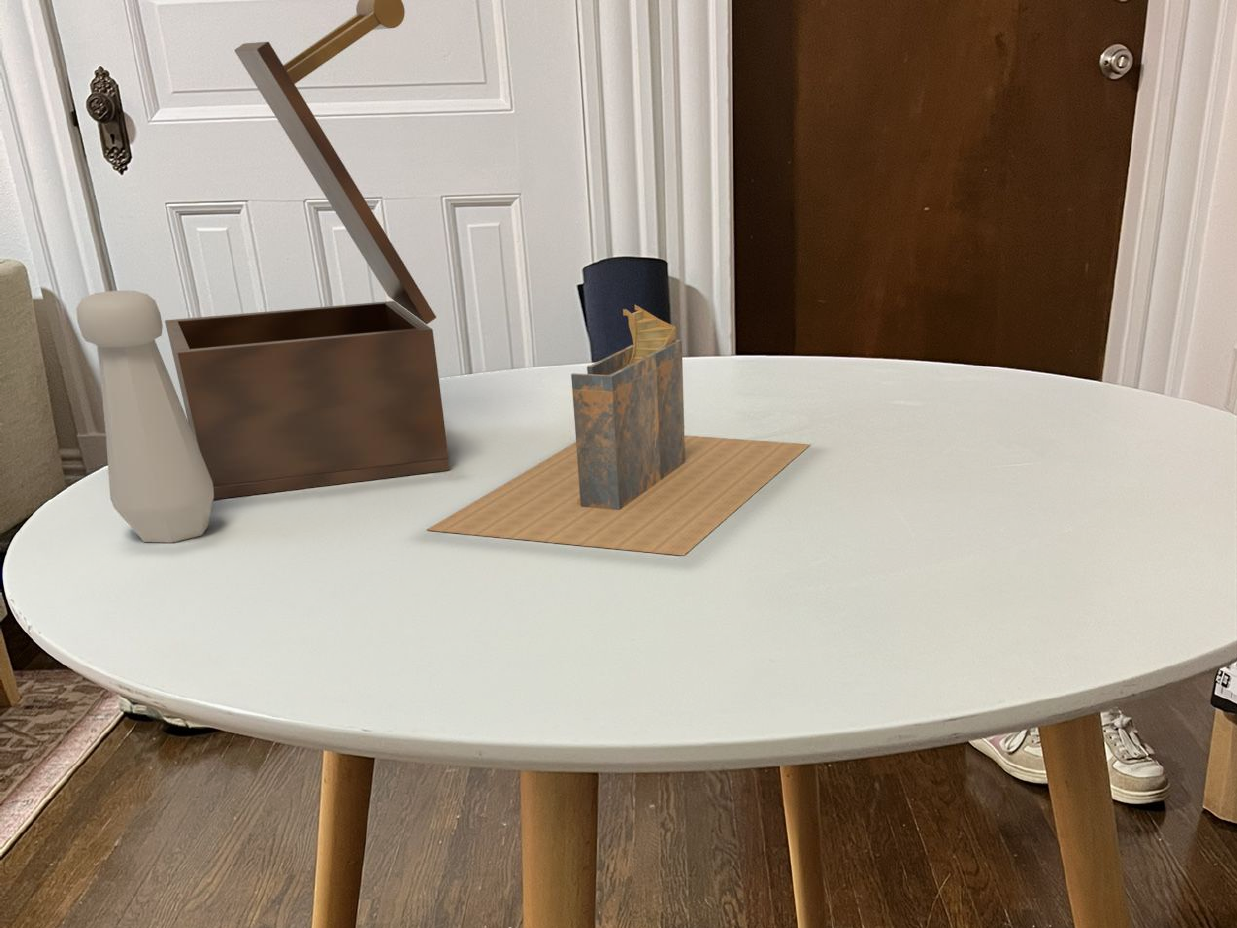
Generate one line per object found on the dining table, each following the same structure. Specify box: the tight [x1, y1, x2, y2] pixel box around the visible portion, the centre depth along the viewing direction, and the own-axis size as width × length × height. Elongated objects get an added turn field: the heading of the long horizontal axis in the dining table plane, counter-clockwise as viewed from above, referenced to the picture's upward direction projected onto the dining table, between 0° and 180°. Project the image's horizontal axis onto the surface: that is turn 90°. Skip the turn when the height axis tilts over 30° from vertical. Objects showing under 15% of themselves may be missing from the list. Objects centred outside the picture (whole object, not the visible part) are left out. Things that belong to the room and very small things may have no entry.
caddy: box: [164, 300, 451, 501], centre depth 88 cm, size 16×13×9 cm
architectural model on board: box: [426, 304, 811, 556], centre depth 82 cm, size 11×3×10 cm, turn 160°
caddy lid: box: [234, 0, 437, 325], centre depth 83 cm, size 16×13×9 cm
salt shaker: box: [75, 290, 214, 544], centre depth 75 cm, size 6×6×13 cm
